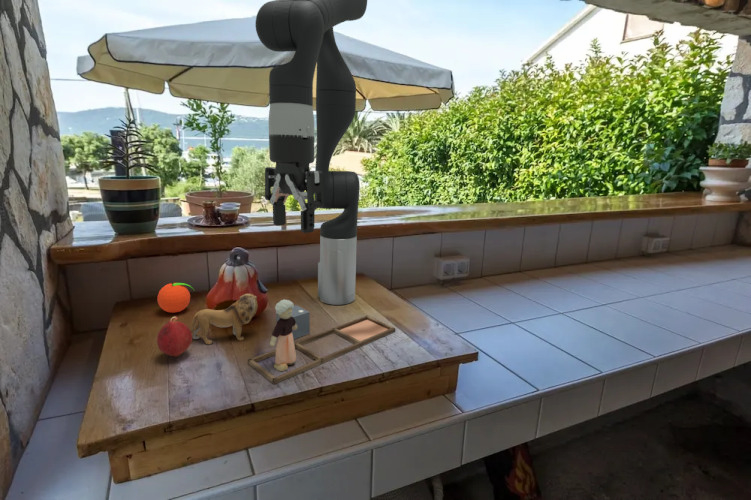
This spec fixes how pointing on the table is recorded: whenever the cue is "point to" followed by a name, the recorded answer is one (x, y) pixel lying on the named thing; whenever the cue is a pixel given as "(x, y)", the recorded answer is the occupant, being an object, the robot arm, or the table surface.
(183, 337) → the red oval fruit
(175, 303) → the clementine
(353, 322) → the board
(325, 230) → the robot arm
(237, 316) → the lion figurine
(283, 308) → the grandmother figurine
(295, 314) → the die
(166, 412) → the table surface
